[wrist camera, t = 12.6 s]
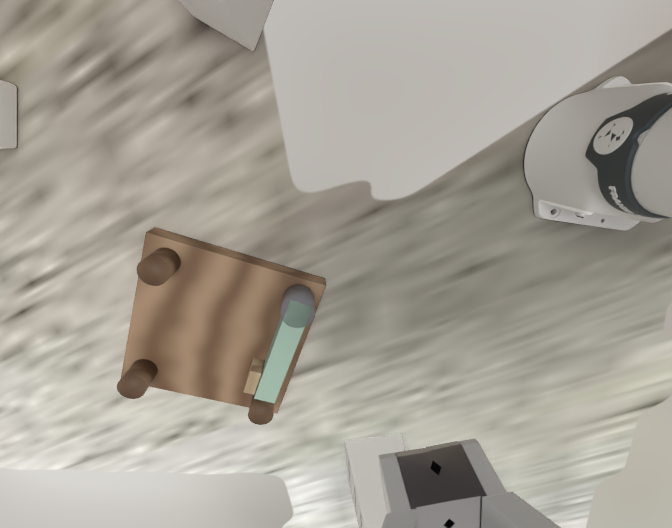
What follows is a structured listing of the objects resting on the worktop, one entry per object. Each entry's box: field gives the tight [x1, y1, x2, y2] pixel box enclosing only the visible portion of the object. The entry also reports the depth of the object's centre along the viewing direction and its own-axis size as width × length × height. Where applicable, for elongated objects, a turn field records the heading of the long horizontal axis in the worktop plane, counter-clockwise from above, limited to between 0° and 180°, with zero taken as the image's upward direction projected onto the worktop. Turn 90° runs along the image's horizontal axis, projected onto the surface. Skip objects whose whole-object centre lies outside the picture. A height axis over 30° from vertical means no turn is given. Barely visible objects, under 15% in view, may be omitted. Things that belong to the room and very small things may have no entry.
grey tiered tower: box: [345, 433, 404, 528], centre depth 53 cm, size 10×10×20 cm
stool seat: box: [117, 228, 326, 425], centre depth 46 cm, size 24×24×6 cm
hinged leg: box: [254, 285, 315, 403], centre depth 46 cm, size 17×4×4 cm, turn 159°
